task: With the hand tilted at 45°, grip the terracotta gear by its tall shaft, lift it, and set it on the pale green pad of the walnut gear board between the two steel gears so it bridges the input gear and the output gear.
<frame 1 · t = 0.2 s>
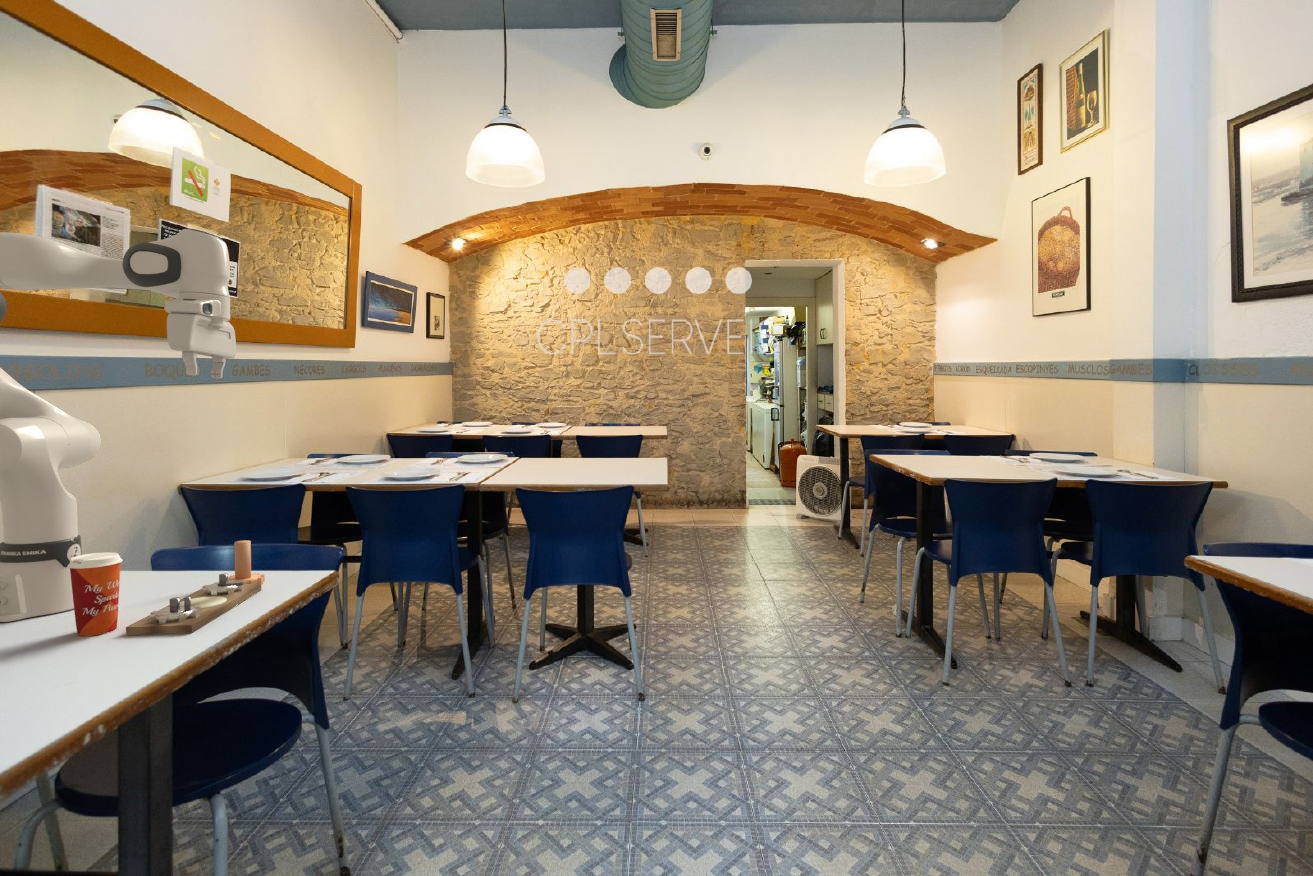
hand: (205, 376, 135), 48 cm above the table, tool pointing down, fingers open, 8 cm apart
input gear: (175, 625, 124), resting on gear board
gear board: (201, 610, 133), on the table
paper cup: (97, 632, 120), on the table
output gear: (223, 597, 141), resting on gear board
idler gear: (243, 584, 152), on the table
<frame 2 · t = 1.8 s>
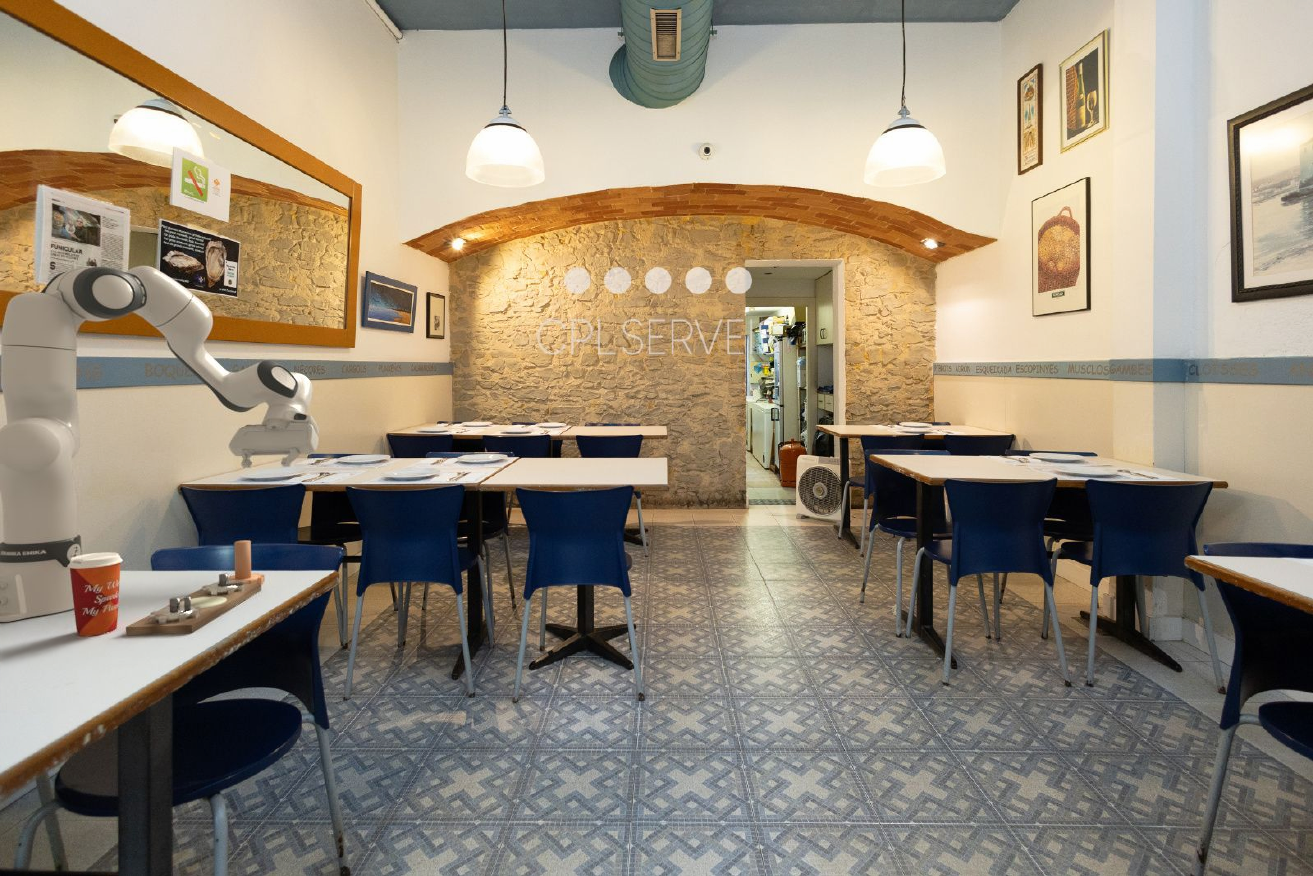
hand: (265, 465, 161), 27 cm above the table, tool tilted 45°, fingers open, 8 cm apart
nothing on the table moved.
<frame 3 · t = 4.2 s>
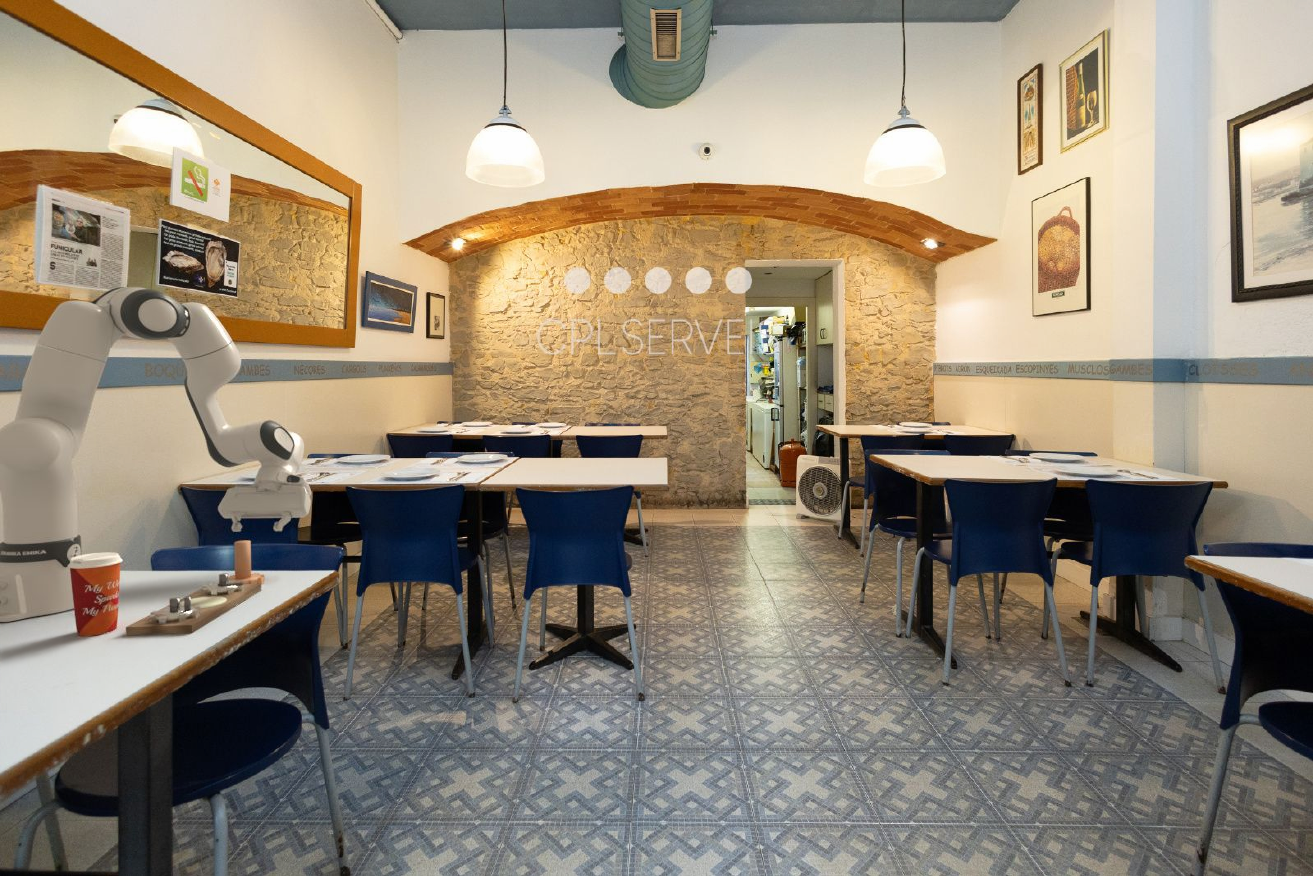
hand: (256, 530, 159), 11 cm above the table, tool tilted 45°, fingers open, 8 cm apart
nothing on the table moved.
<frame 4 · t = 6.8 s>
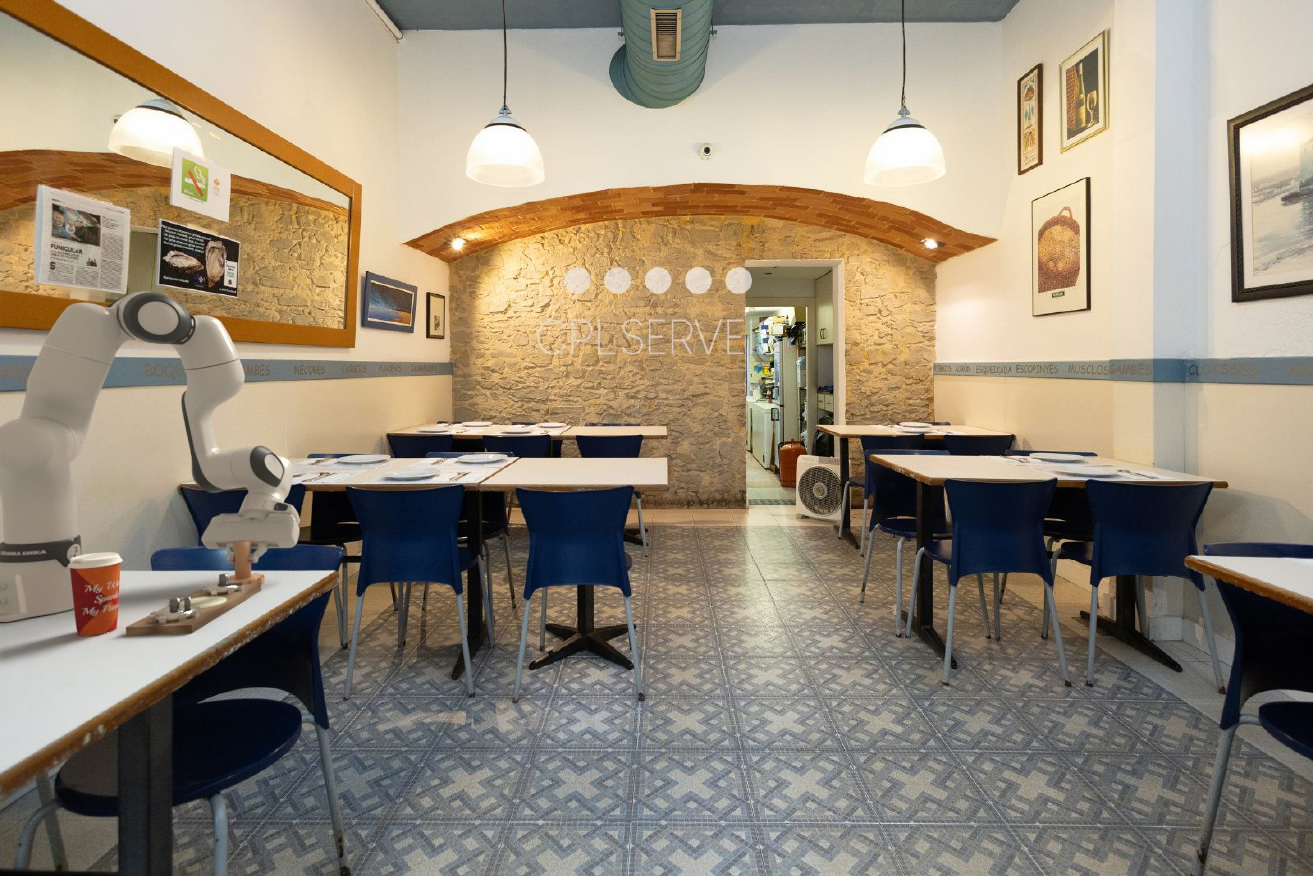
hand: (241, 562, 151), 5 cm above the table, tool tilted 45°, fingers closed on idler gear, 3 cm apart
idler gear: (243, 584, 152), on the table, touching gripper
everything else where it was.
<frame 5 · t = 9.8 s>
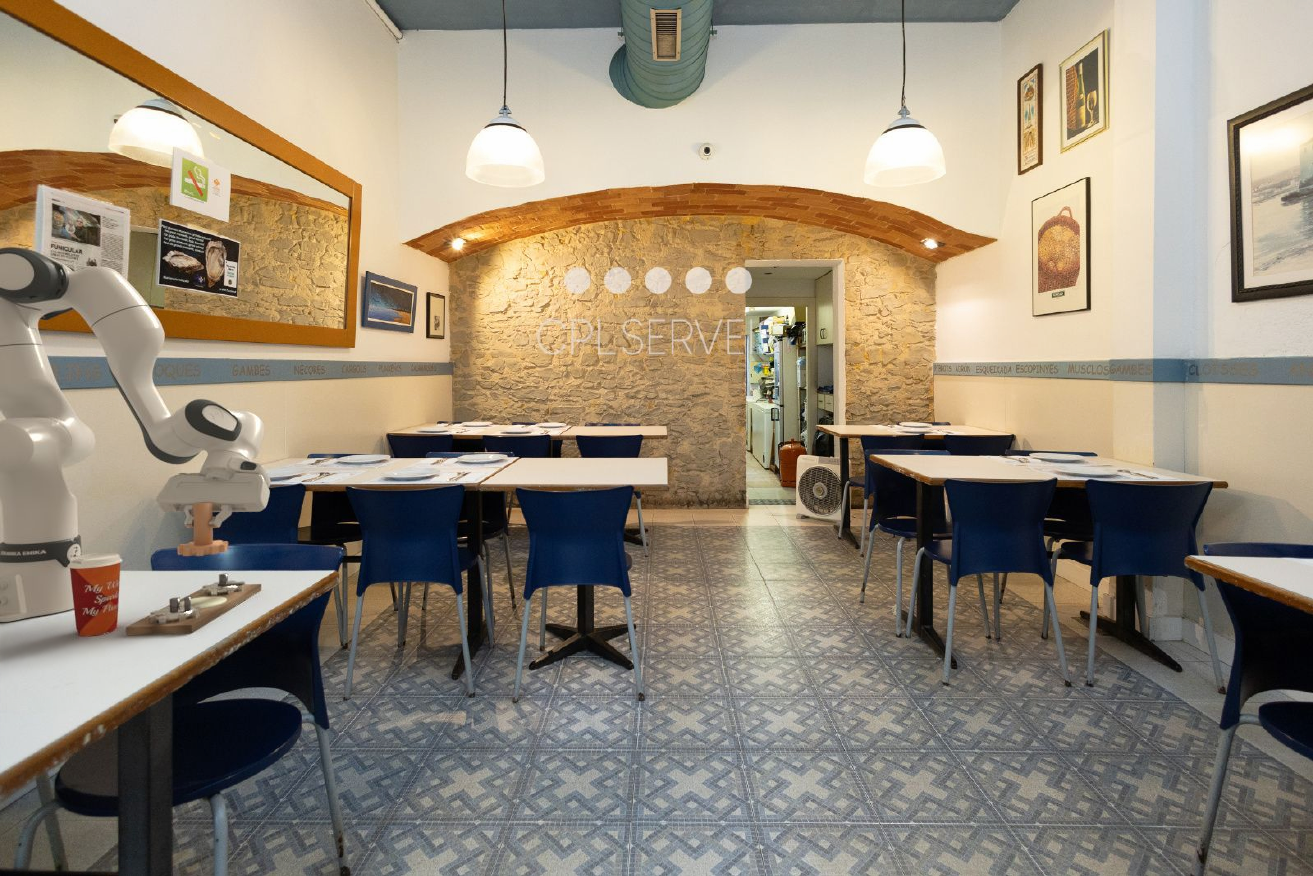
hand: (201, 526, 133), 17 cm above the table, tool tilted 45°, fingers closed on idler gear, 3 cm apart
idler gear: (203, 551, 134), point 12 cm above the table, touching gripper
everything else where it was.
when the fingers open (8 cm above the table, at t = 12.8 s): idler gear drops 1 cm, resting on gear board.
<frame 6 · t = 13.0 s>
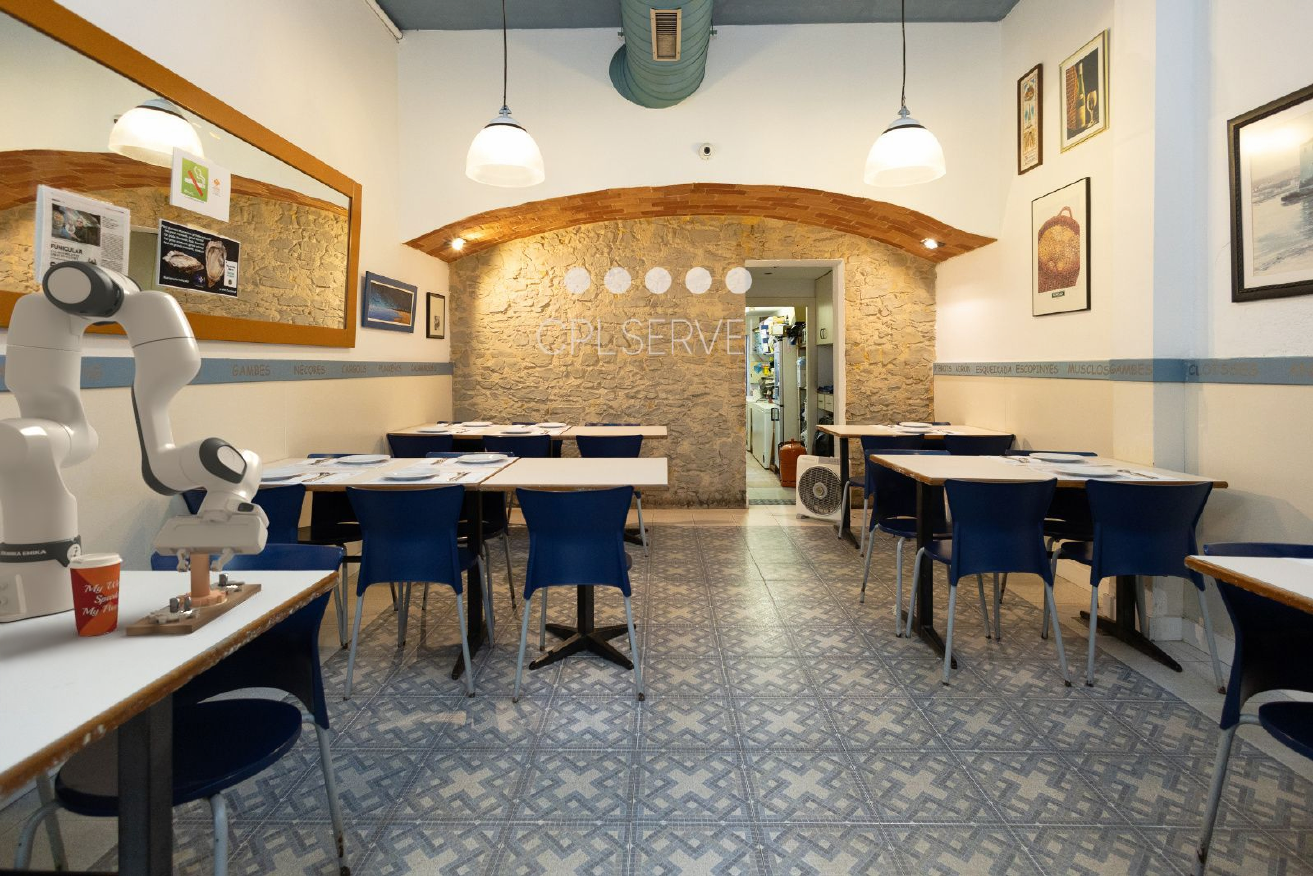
hand: (198, 570, 132), 8 cm above the table, tool tilted 45°, fingers open, 5 cm apart
idler gear: (200, 602, 133), point 2 cm above the table, touching gear board
everything else where it was.
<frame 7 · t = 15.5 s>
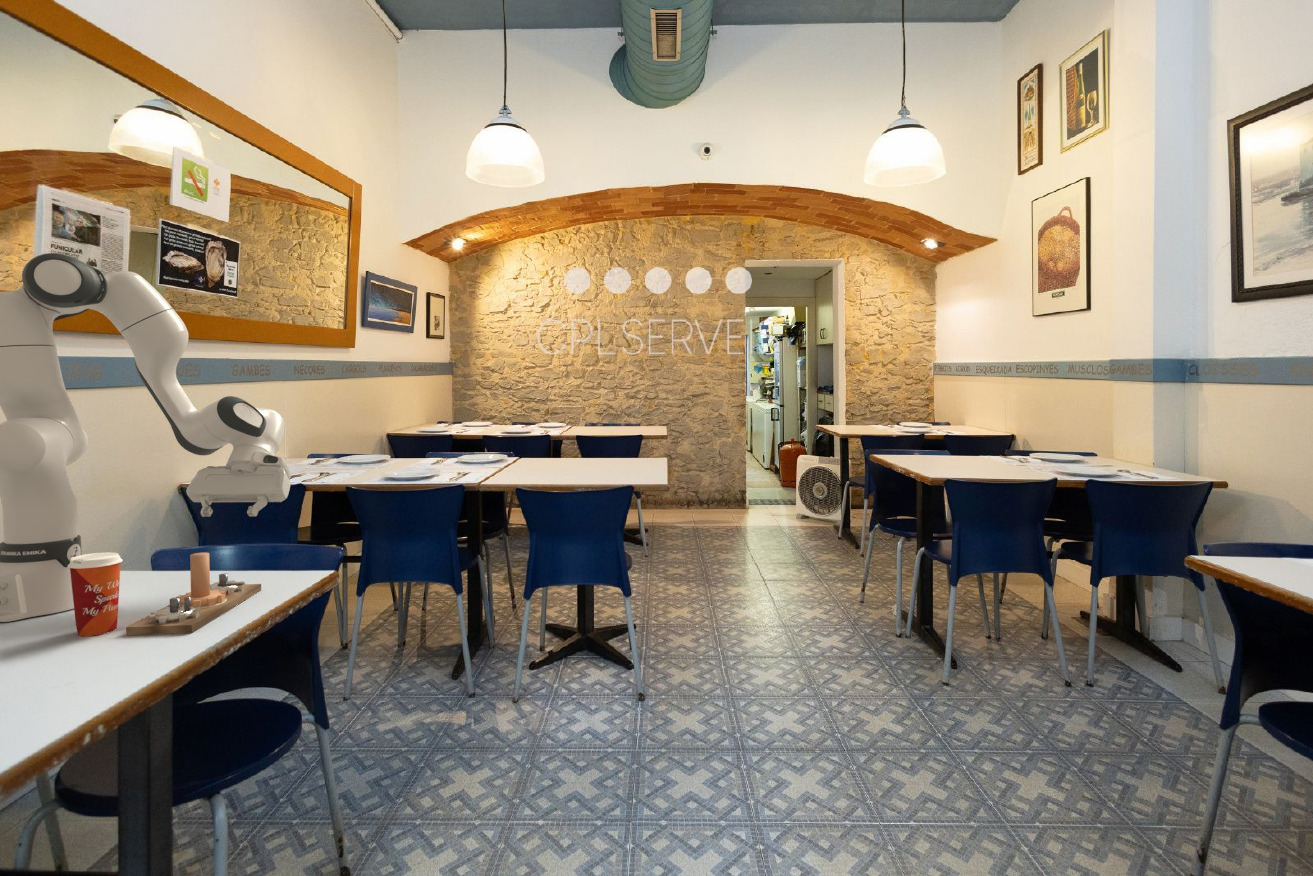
hand: (228, 515, 143), 18 cm above the table, tool tilted 45°, fingers open, 8 cm apart
nothing on the table moved.
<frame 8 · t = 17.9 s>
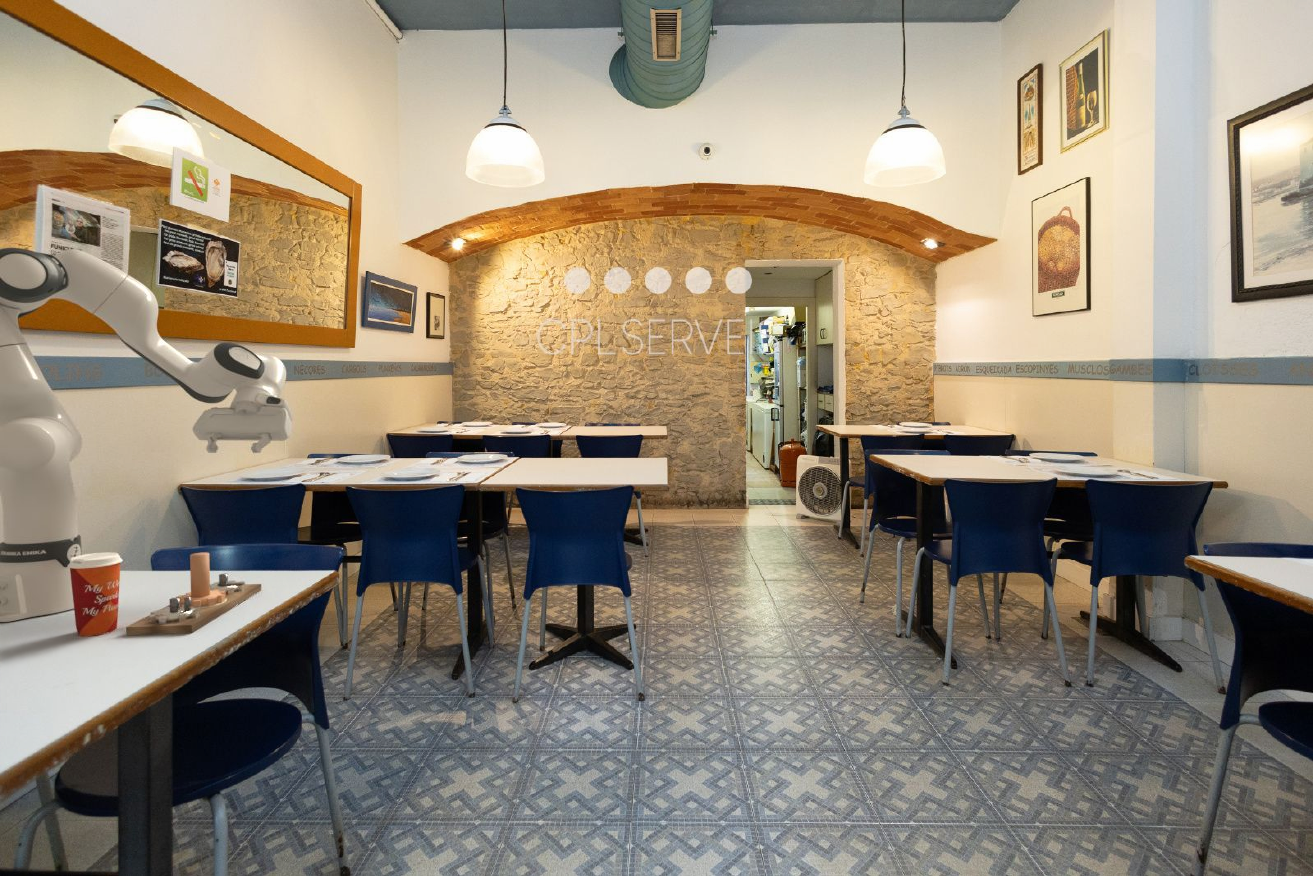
hand: (233, 451, 149), 31 cm above the table, tool tilted 45°, fingers open, 8 cm apart
nothing on the table moved.
at the end: idler gear 0.0 cm off-centre on the gear board, point 1.6 cm above the gear board's base; idler gear tilted 0°; the gripper is holding nothing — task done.
